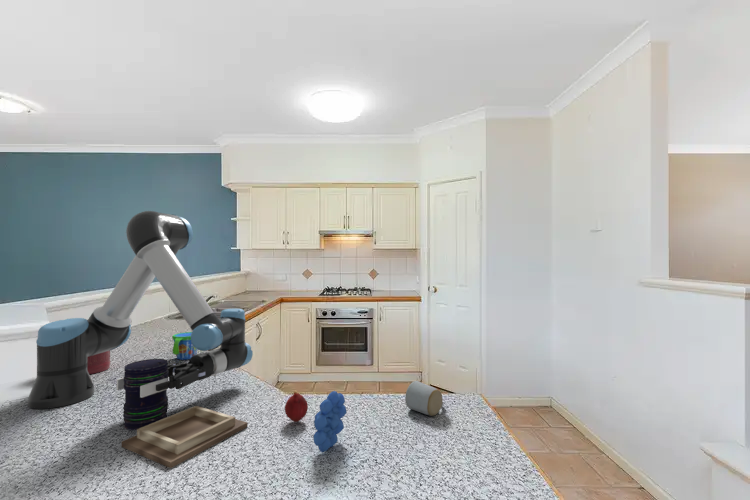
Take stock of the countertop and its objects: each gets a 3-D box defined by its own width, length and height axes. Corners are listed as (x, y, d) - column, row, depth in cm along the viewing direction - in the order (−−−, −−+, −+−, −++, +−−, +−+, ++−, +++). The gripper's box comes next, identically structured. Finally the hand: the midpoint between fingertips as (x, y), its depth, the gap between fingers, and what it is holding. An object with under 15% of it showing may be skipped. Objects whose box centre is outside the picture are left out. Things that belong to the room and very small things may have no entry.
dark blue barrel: (119, 434, 88) (120, 372, 88) (126, 418, 96) (126, 361, 97) (167, 425, 92) (167, 366, 93) (168, 410, 101) (169, 356, 101)
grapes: (328, 431, 89) (328, 382, 89) (352, 437, 86) (352, 386, 86) (299, 455, 78) (299, 399, 78) (325, 462, 75) (325, 404, 75)
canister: (116, 369, 139) (117, 323, 139) (75, 378, 128) (75, 328, 128) (102, 363, 146) (102, 319, 146) (61, 372, 135) (62, 325, 135)
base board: (121, 446, 82) (121, 432, 82) (200, 412, 99) (200, 401, 99) (170, 468, 73) (170, 452, 73) (247, 427, 91) (247, 414, 91)
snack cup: (188, 352, 163) (188, 330, 163) (209, 353, 161) (209, 330, 161) (161, 362, 147) (162, 337, 147) (184, 364, 145) (184, 338, 145)
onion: (311, 418, 96) (311, 388, 96) (300, 428, 90) (300, 396, 90) (292, 415, 97) (292, 386, 98) (280, 425, 92) (280, 393, 92)
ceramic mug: (429, 421, 94) (429, 391, 94) (404, 412, 100) (404, 383, 100) (450, 409, 102) (450, 381, 102) (426, 401, 108) (426, 375, 108)
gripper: (232, 383, 105) (155, 412, 85) (183, 371, 116) (104, 395, 96) (232, 357, 105) (155, 380, 86) (183, 348, 116) (105, 366, 96)
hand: (128, 388), depth 91 cm, fingers closed on dark blue barrel, 10 cm apart
